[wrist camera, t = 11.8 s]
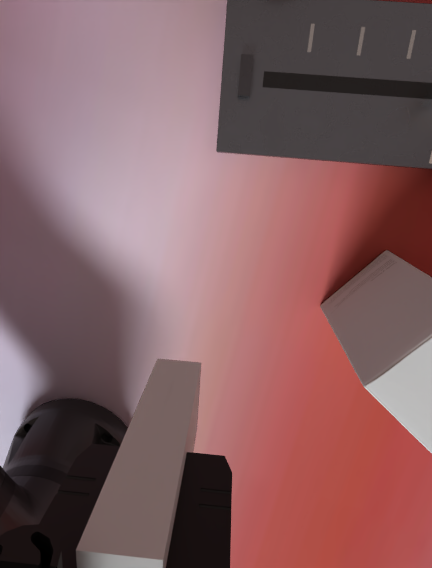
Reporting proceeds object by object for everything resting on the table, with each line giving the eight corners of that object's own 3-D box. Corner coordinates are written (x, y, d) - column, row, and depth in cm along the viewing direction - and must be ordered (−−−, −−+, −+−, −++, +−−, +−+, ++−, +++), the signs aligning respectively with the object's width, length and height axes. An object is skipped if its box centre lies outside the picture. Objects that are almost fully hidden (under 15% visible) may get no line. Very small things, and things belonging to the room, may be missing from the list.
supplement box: (316, 305, 39) (358, 385, 25) (386, 247, 36) (477, 299, 22) (370, 360, 40) (440, 467, 26) (441, 308, 38) (559, 394, 24)
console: (217, 152, 35) (215, 150, 32) (228, 2, 31) (227, -15, 28) (521, 176, 34) (547, 177, 31) (571, 23, 30) (605, 8, 27)
